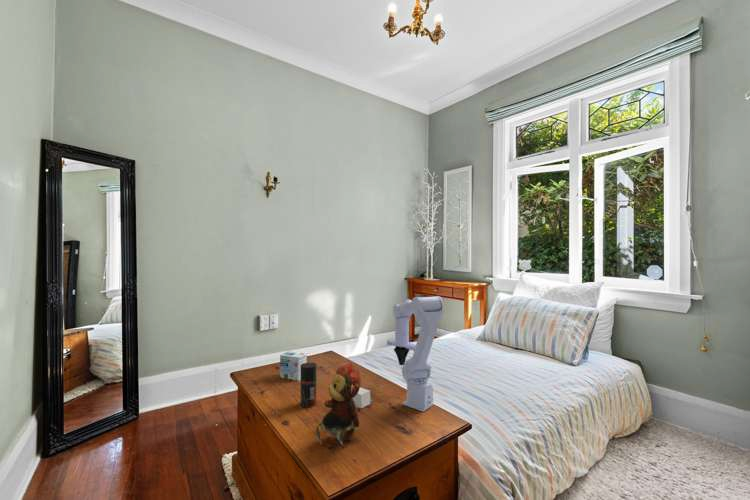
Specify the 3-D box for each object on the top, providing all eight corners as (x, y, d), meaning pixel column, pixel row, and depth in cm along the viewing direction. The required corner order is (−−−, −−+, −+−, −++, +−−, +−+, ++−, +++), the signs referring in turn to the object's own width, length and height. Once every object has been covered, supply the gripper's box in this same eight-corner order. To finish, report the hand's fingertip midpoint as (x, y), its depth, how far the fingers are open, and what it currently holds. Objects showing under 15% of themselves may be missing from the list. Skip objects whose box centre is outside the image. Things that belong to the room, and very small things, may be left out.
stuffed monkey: (342, 415, 118) (355, 348, 114) (372, 448, 106) (387, 374, 102) (303, 427, 109) (315, 355, 105) (330, 465, 96) (345, 385, 92)
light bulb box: (279, 378, 158) (279, 354, 158) (288, 373, 164) (288, 350, 164) (298, 381, 154) (298, 357, 154) (307, 376, 160) (307, 353, 160)
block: (370, 390, 130) (352, 384, 136) (361, 394, 126) (344, 388, 132) (370, 403, 130) (353, 397, 136) (361, 408, 126) (344, 401, 132)
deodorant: (309, 409, 126) (308, 368, 127) (297, 405, 130) (297, 365, 130) (319, 403, 132) (319, 364, 132) (308, 399, 135) (308, 361, 135)
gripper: (421, 333, 143) (421, 365, 143) (393, 328, 152) (393, 358, 152) (412, 337, 137) (412, 370, 137) (384, 331, 146) (383, 362, 147)
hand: (401, 364), depth 144 cm, fingers closed
